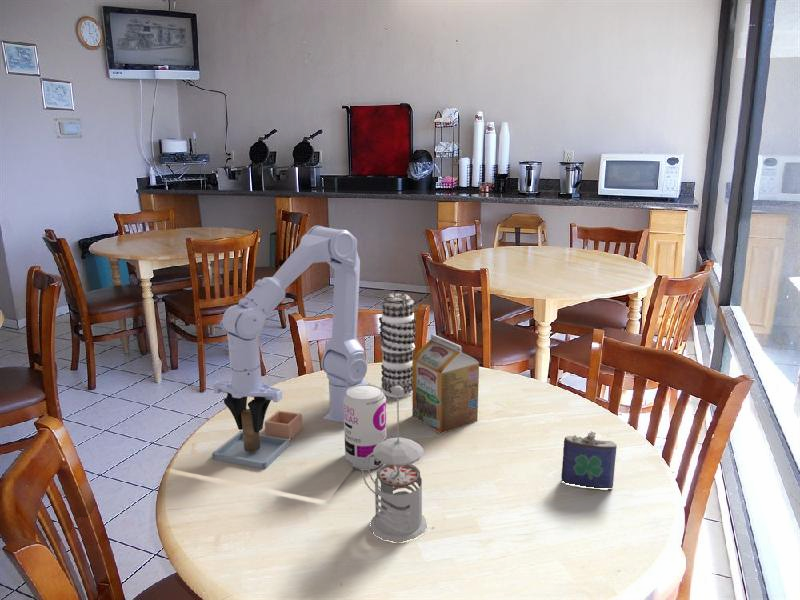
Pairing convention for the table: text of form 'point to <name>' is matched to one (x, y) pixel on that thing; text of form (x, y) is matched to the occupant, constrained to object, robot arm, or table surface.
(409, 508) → the french press
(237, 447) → the tray
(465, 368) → the milk carton
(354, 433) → the supplement can
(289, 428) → the hollow square block
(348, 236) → the robot arm
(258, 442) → the dowel
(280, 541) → the table surface
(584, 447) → the flask
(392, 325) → the decorative candle
